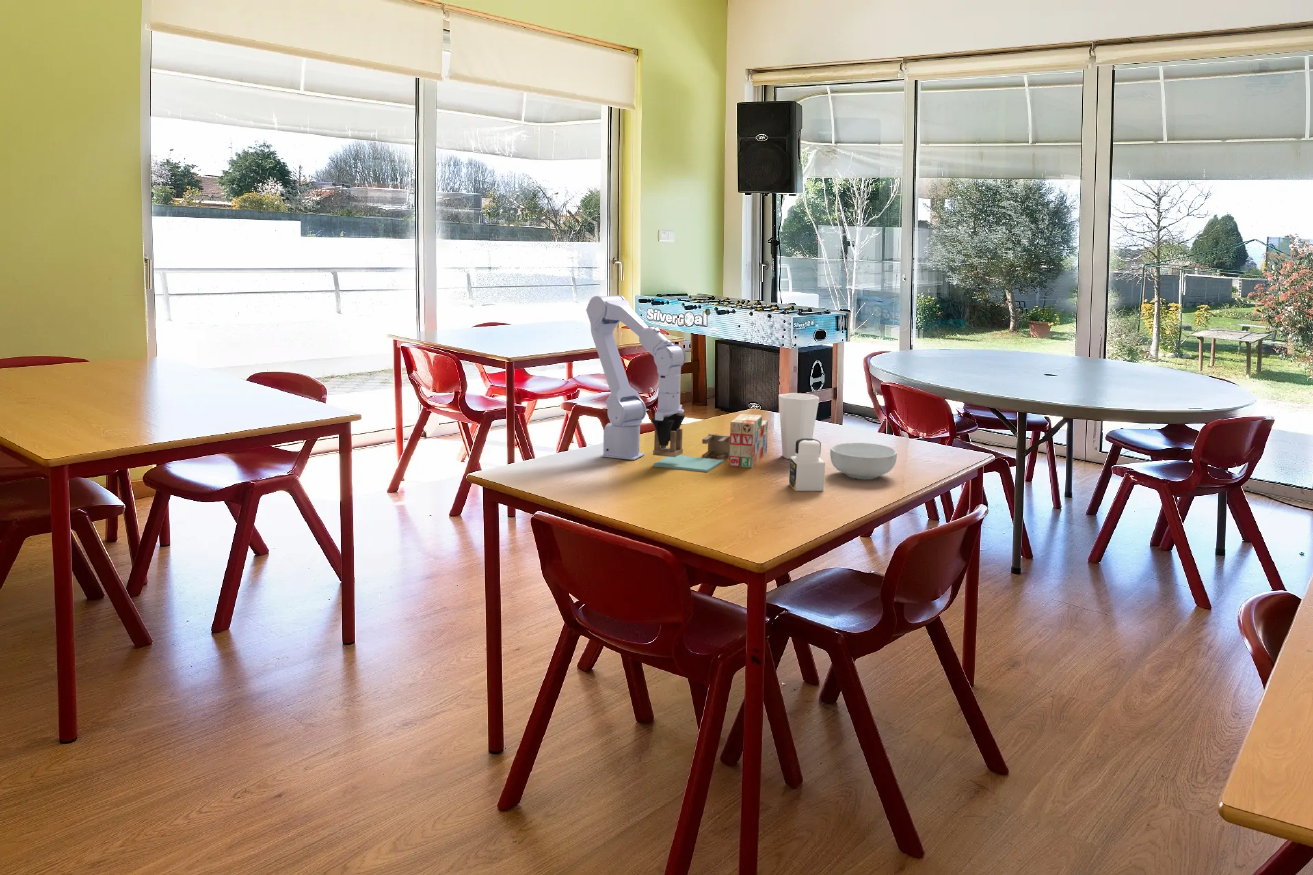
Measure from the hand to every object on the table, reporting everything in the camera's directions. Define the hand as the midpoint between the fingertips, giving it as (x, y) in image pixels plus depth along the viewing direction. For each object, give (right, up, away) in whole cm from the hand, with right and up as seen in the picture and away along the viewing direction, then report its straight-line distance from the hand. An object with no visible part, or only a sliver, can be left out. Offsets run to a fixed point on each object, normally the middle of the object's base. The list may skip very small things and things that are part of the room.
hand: (668, 443), depth 277 cm
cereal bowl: (+50, -9, -5) cm, 51 cm away
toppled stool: (+12, -2, +8) cm, 14 cm away
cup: (+35, -4, +15) cm, 39 cm away
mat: (+6, -6, +3) cm, 8 cm away
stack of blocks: (+22, -5, +11) cm, 25 cm away
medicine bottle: (+33, -11, -19) cm, 40 cm away
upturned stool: (0, -3, 0) cm, 3 cm away
